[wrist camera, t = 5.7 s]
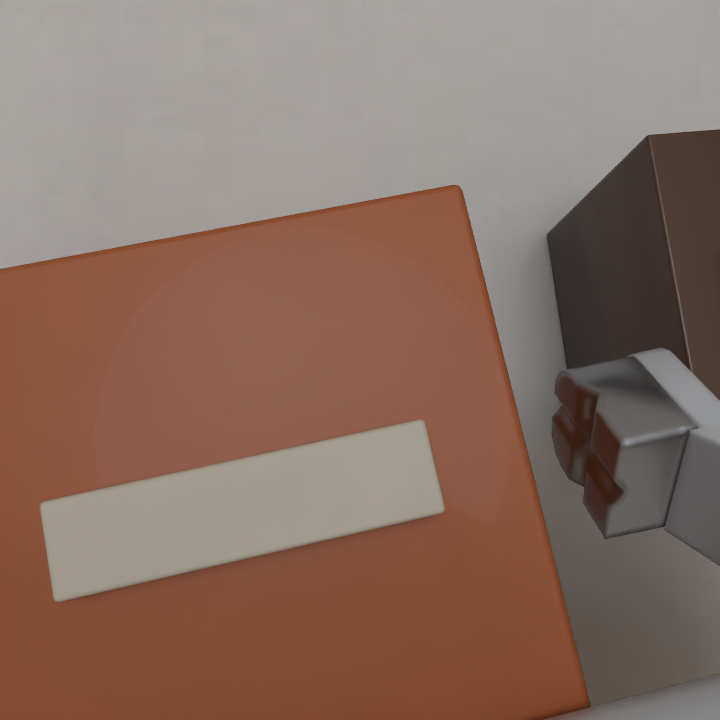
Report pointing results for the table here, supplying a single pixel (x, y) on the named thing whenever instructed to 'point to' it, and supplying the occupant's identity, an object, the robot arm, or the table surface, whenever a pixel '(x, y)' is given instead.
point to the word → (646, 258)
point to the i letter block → (273, 481)
